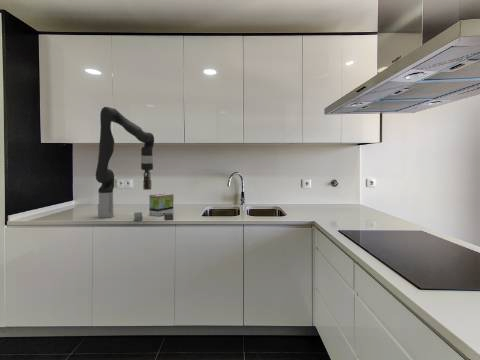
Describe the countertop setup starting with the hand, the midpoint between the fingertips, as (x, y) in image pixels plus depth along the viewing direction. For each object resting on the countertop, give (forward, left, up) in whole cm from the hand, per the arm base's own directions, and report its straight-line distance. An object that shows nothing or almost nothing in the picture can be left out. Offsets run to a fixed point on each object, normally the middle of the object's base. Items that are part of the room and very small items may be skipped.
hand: (147, 188), depth 201 cm
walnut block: (0, 0, -1) cm, 1 cm away
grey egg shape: (-6, -2, -21) cm, 22 cm away
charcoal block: (+14, -1, -21) cm, 26 cm away
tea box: (+7, +18, -22) cm, 29 cm away
